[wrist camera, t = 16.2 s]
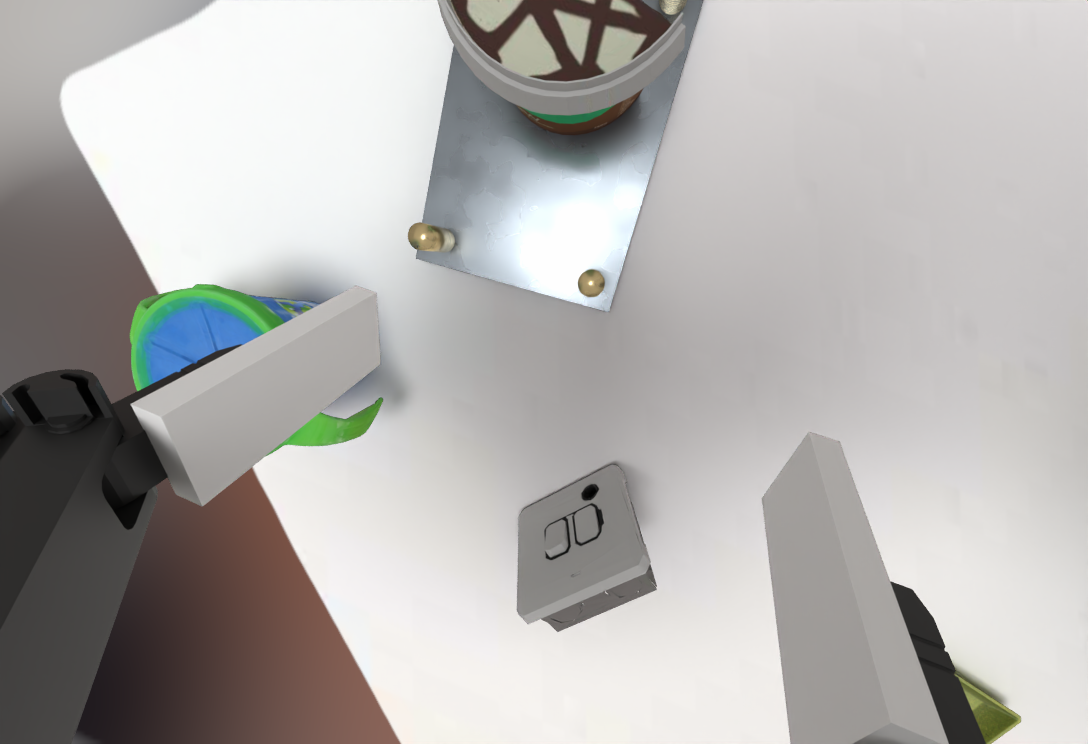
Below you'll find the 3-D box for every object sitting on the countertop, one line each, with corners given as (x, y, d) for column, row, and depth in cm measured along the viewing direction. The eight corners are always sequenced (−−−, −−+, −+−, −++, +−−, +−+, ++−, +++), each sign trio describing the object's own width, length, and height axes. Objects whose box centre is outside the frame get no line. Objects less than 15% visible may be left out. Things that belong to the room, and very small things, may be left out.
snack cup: (212, 341, 36) (65, 369, 26) (267, 232, 33) (126, 218, 23) (368, 453, 36) (283, 523, 27) (434, 356, 34) (366, 394, 24)
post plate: (705, -13, 26) (733, -85, 21) (608, 310, 31) (610, 319, 26) (483, -66, 27) (455, -148, 21) (423, 258, 32) (389, 257, 27)
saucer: (1001, 694, 35) (1026, 720, 33) (919, 756, 37) (938, 783, 35) (915, 638, 35) (935, 660, 33) (838, 703, 37) (852, 728, 35)
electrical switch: (617, 458, 34) (632, 540, 25) (649, 507, 35) (674, 601, 26) (518, 509, 36) (499, 600, 27) (551, 553, 37) (544, 655, 28)
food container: (442, 77, 28) (358, -24, 18) (496, -20, 26) (437, -188, 16) (596, 197, 28) (596, 162, 18) (658, 110, 27) (694, 21, 17)
